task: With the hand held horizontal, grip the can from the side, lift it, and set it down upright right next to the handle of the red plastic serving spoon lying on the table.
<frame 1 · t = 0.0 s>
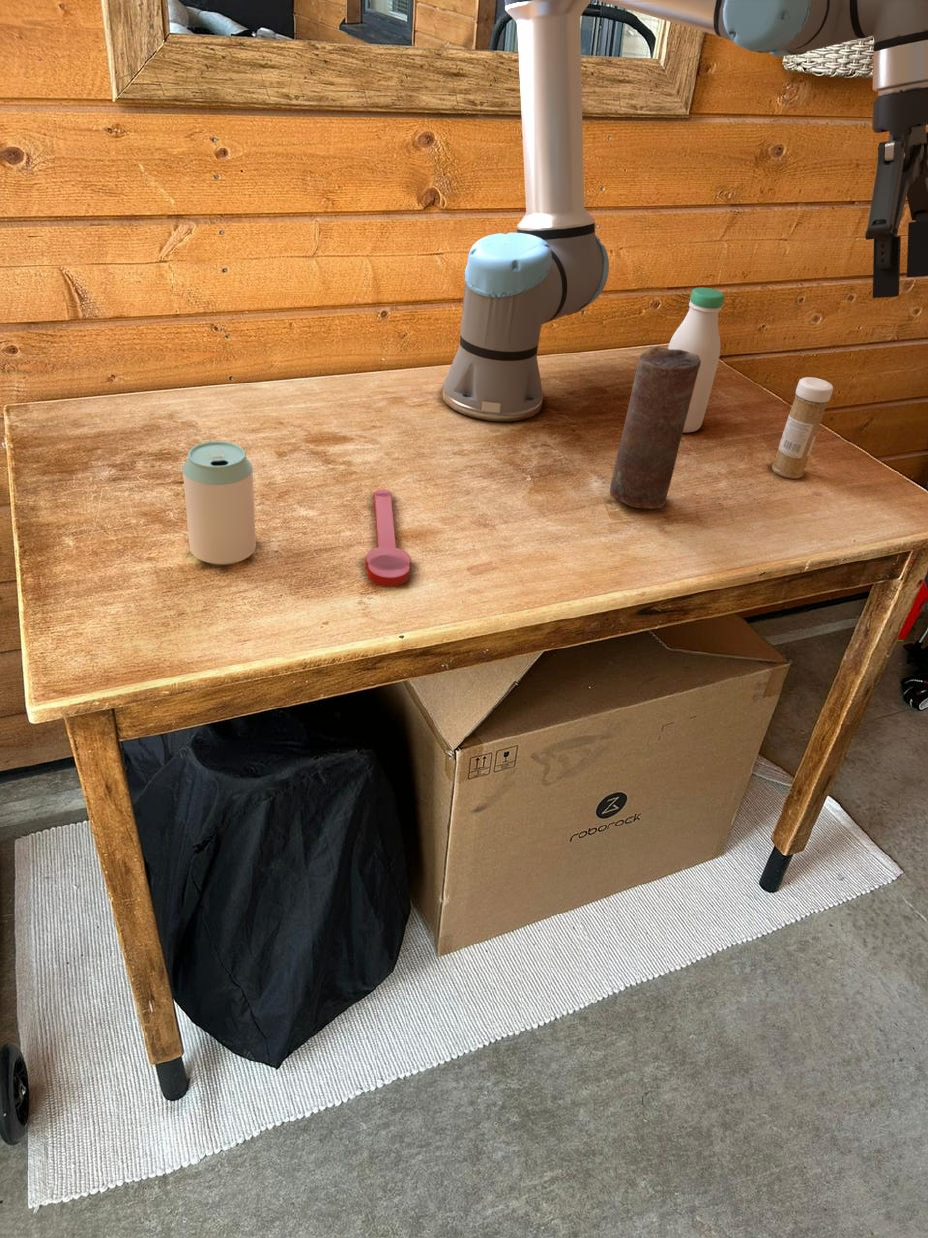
hand: (902, 286, 113), 28 cm above the table, tool tilted 20°, fingers open, 13 cm apart
can: (223, 552, 103), on the table
milk bottle: (675, 424, 143), on the table
candle: (635, 503, 121), on the table
spoon: (385, 540, 108), on the table
spice jar: (786, 473, 133), on the table
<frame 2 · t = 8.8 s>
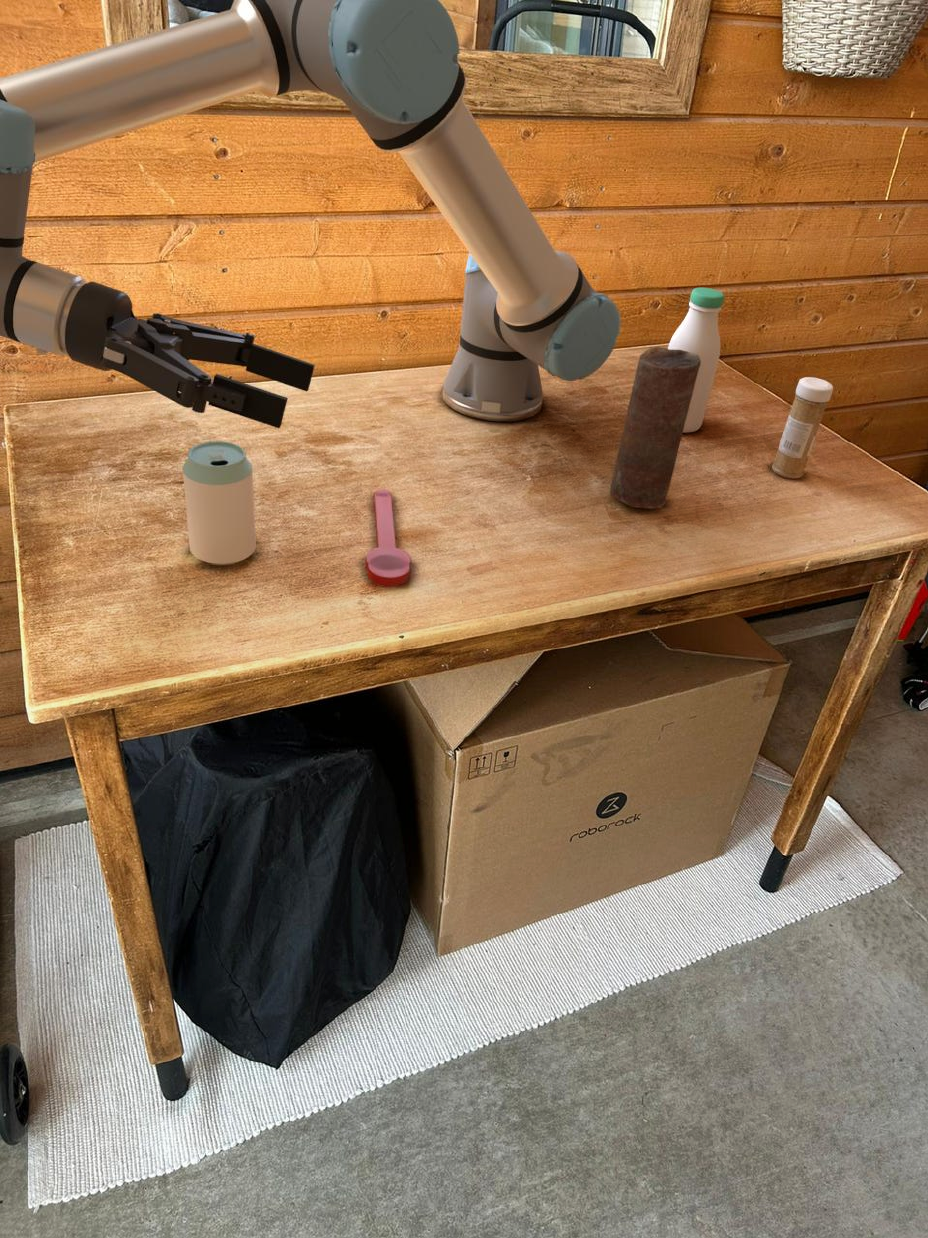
hand: (298, 394, 89), 20 cm above the table, tool horizontal, fingers open, 13 cm apart
nothing on the table moved.
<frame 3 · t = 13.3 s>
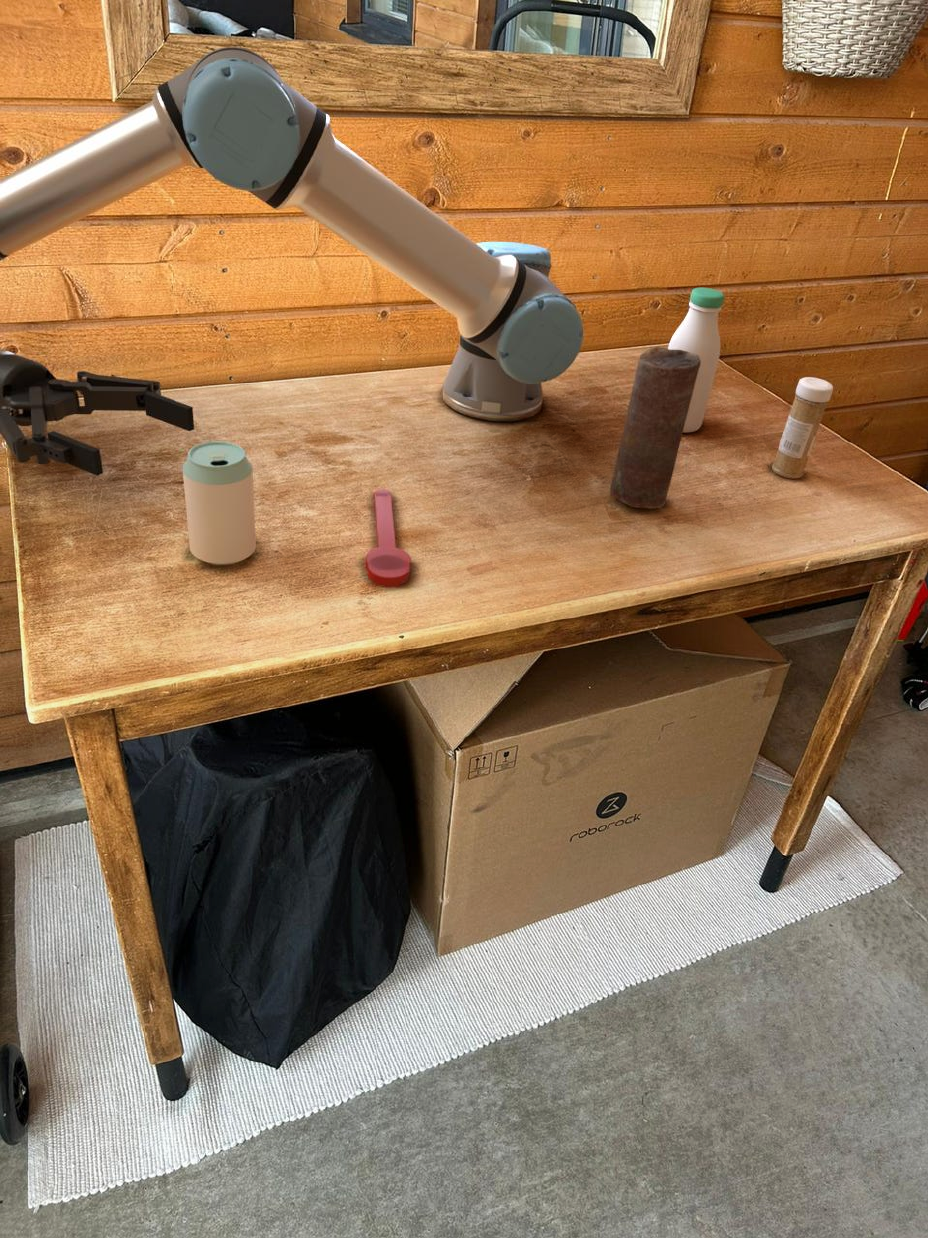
hand: (147, 440, 100), 10 cm above the table, tool horizontal, fingers open, 13 cm apart
nothing on the table moved.
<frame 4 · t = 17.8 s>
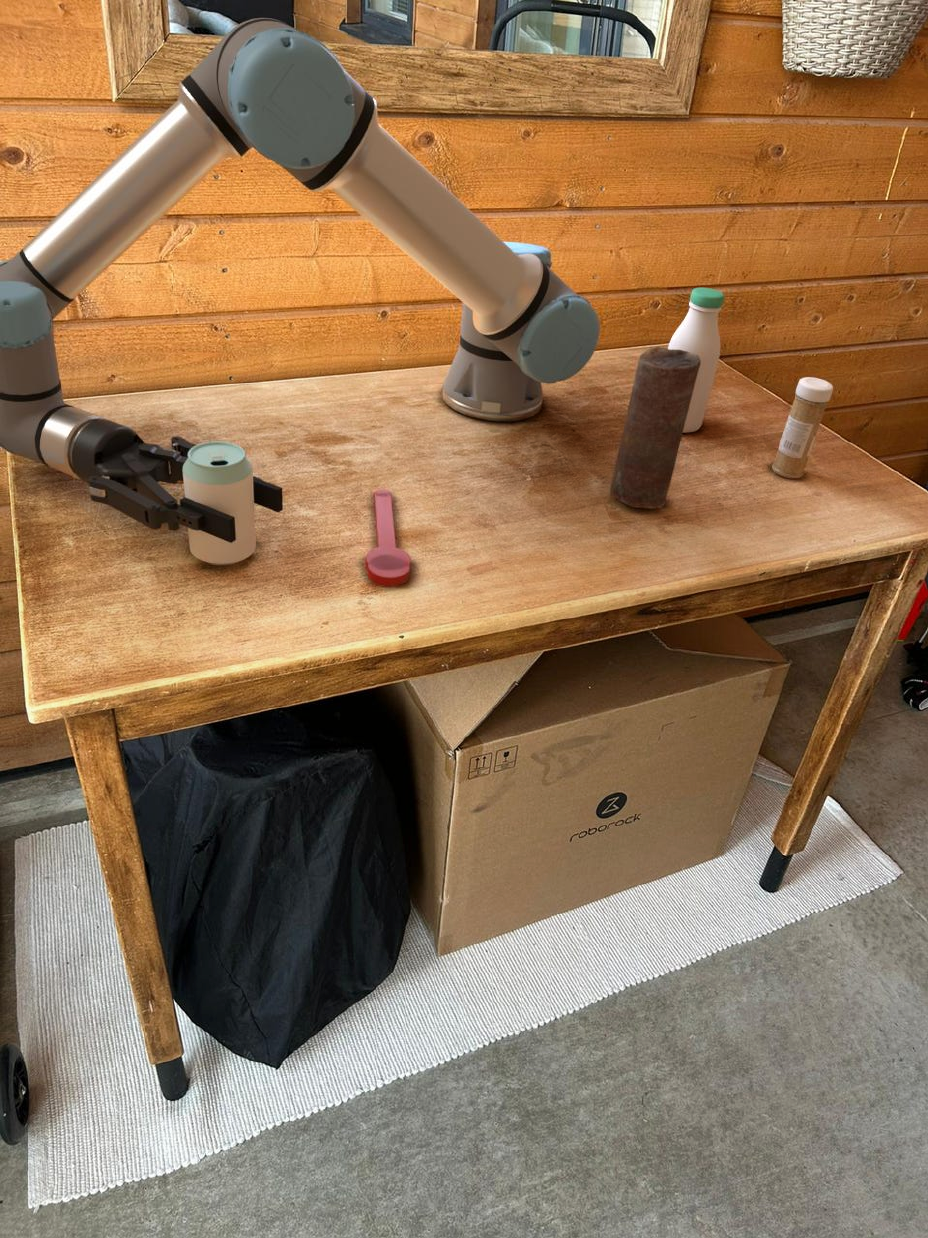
hand: (257, 514, 97), 6 cm above the table, tool horizontal, fingers closed on can, 7 cm apart
can: (223, 552, 103), on the table, touching gripper
everything else where it was.
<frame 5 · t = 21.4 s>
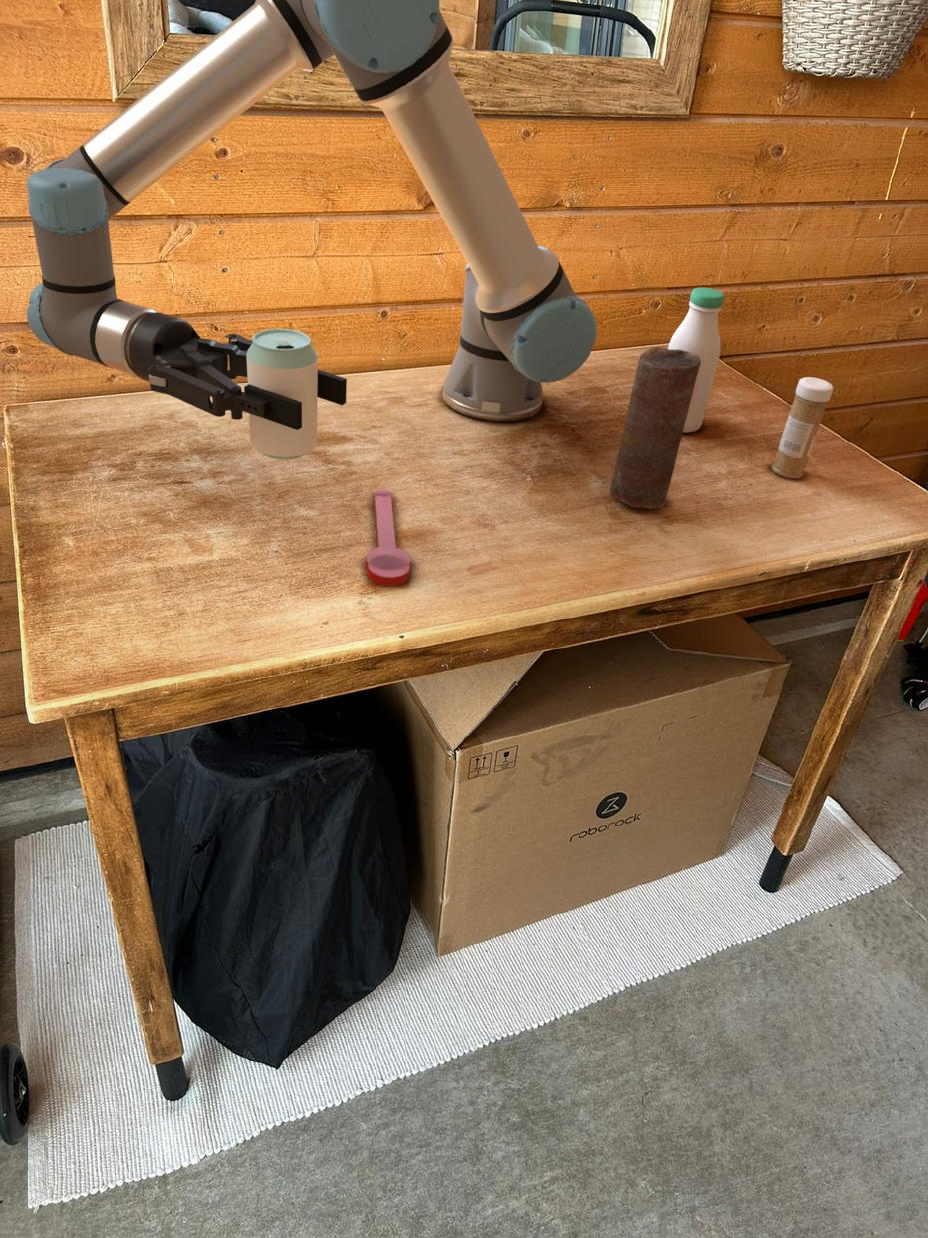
hand: (322, 403, 94), 18 cm above the table, tool horizontal, fingers closed on can, 7 cm apart
can: (284, 449, 100), point 11 cm above the table, touching gripper
everything else where it was.
when the fingers open (6 cm above the table, at t = 25.1 s): can stays where it is, on the table.
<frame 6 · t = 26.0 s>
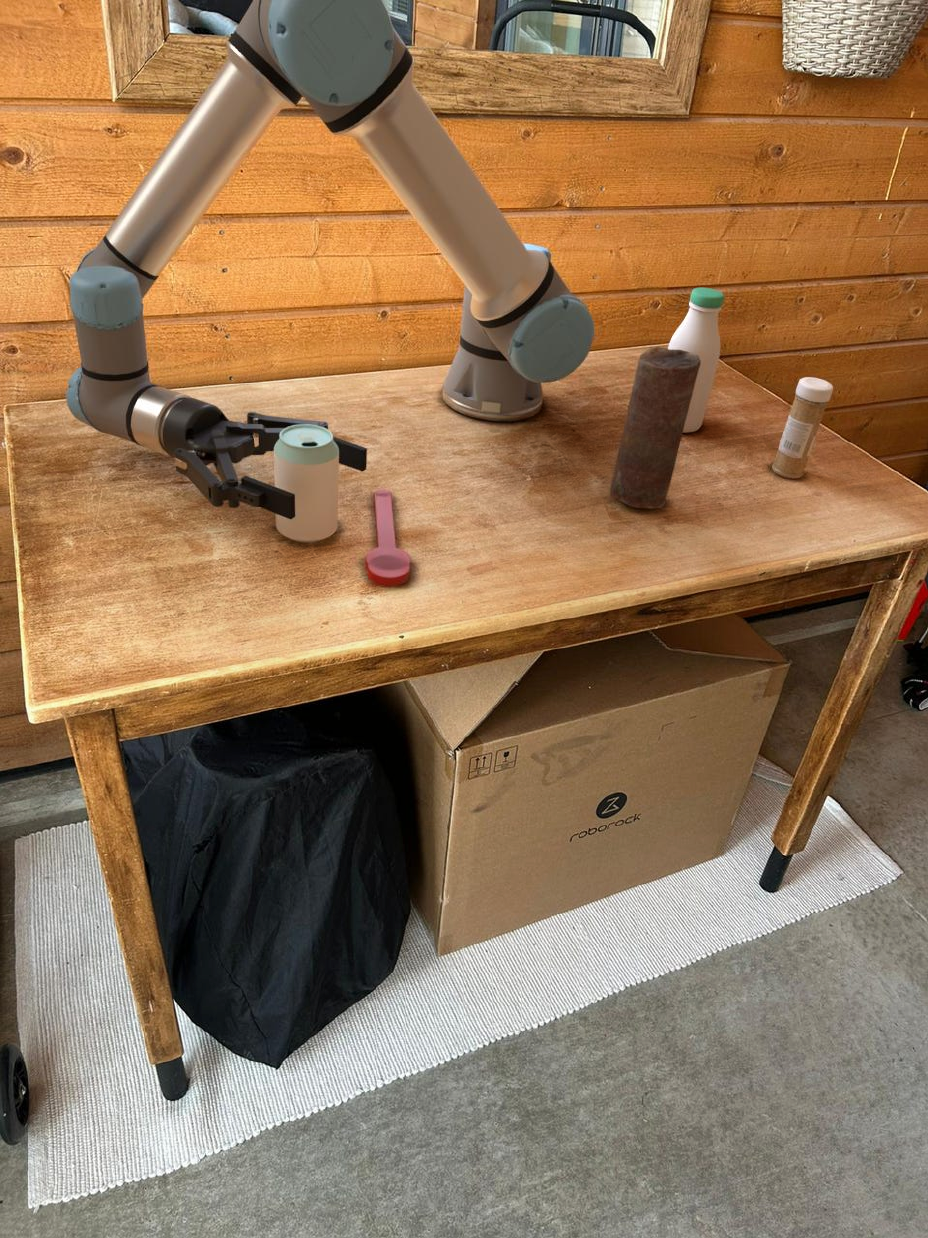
hand: (331, 482, 103), 7 cm above the table, tool horizontal, fingers open, 13 cm apart
can: (306, 531, 108), on the table
everything else where it was.
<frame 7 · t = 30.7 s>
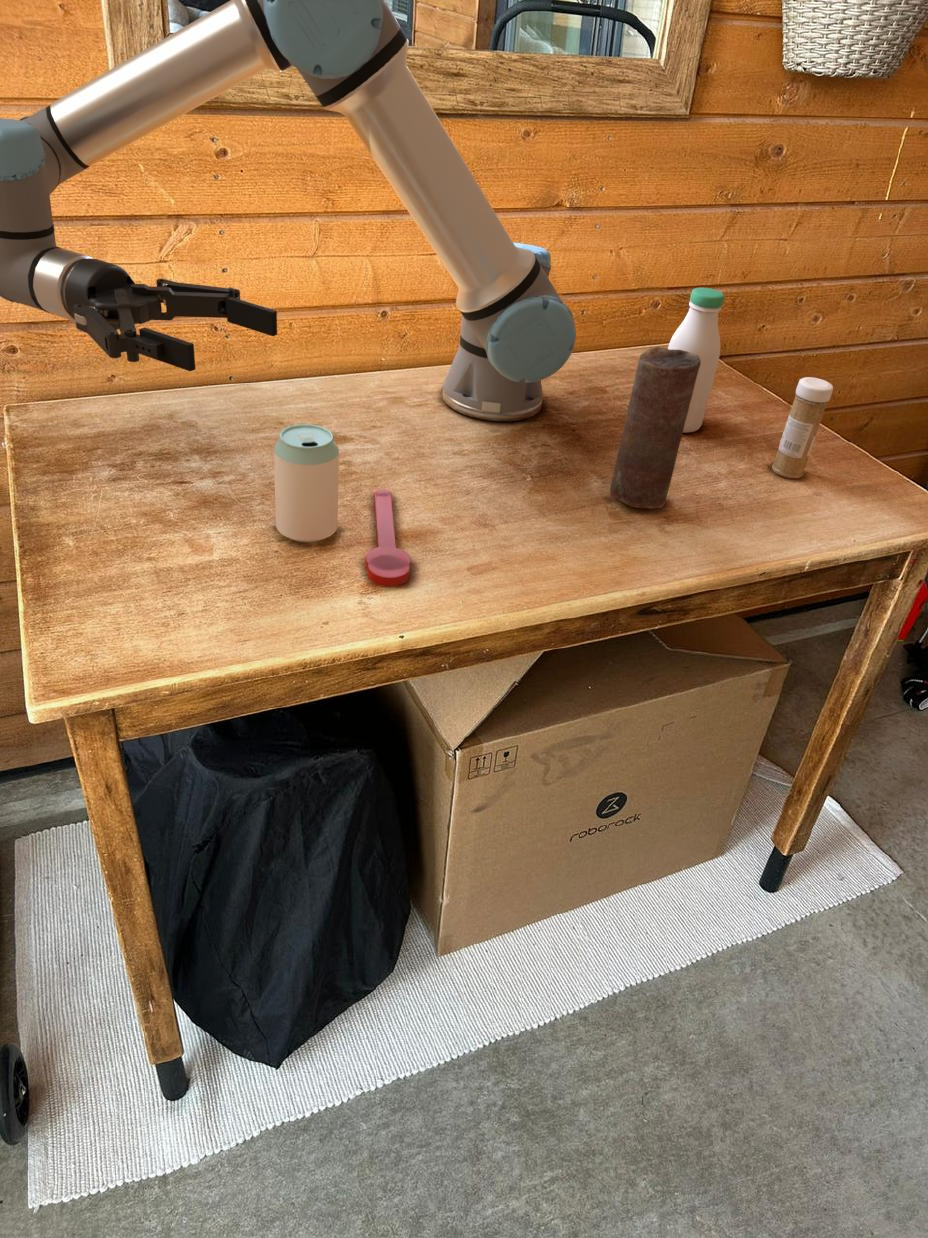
hand: (235, 339, 99), 20 cm above the table, tool horizontal, fingers open, 13 cm apart
nothing on the table moved.
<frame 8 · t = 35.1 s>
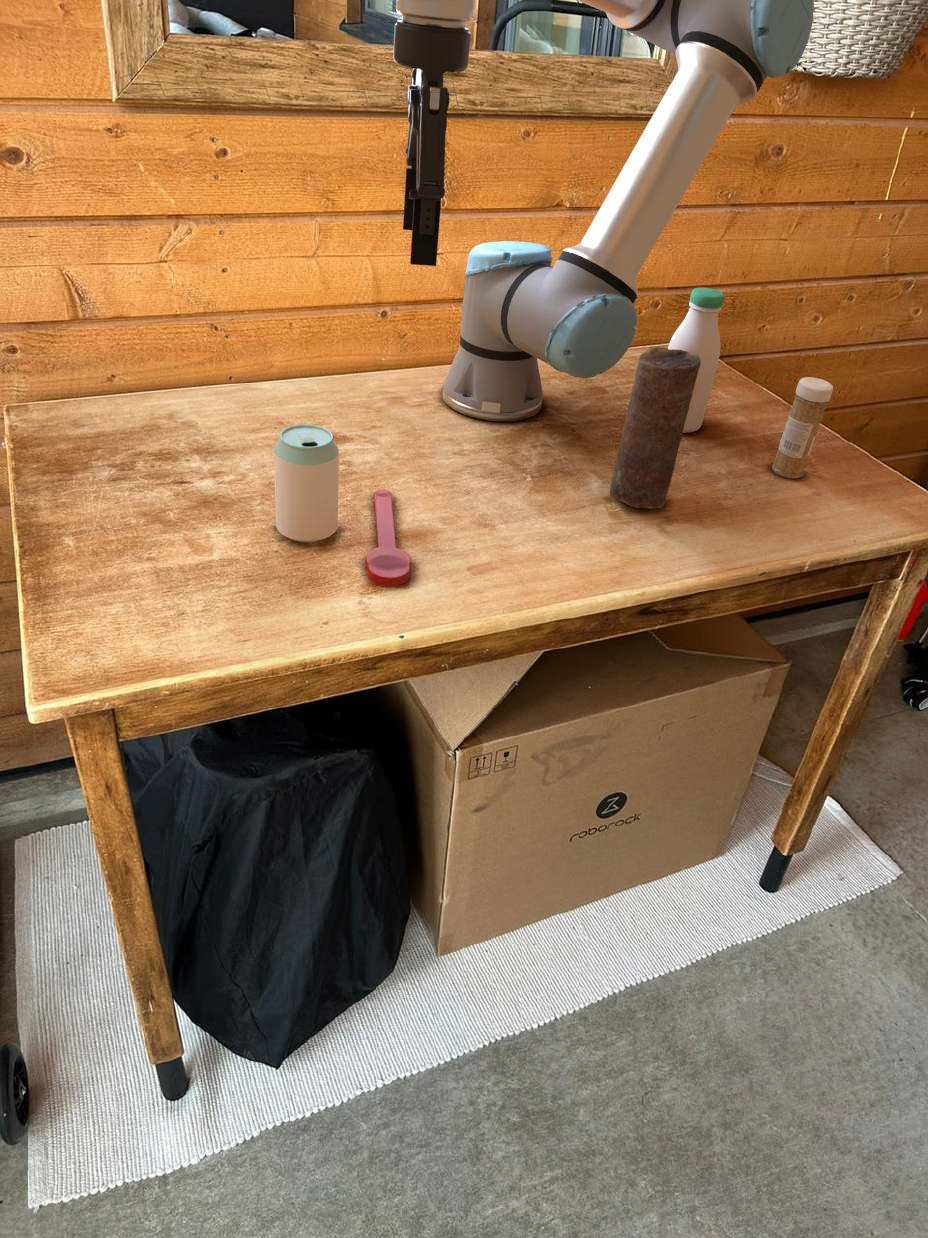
hand: (418, 246, 104), 29 cm above the table, tool pointing down, fingers open, 13 cm apart
nothing on the table moved.
at the end: can inside the target area on the table beside the spoon (0.2 cm from its centre), on the table; can tilted 0°; the gripper is holding nothing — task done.
